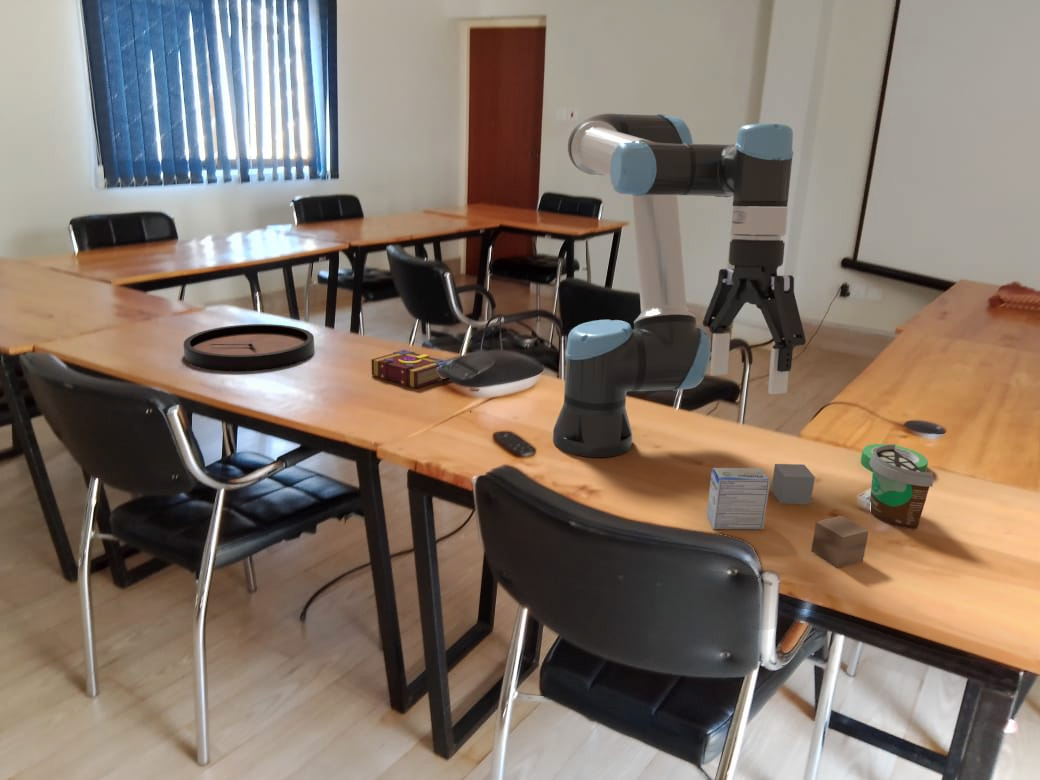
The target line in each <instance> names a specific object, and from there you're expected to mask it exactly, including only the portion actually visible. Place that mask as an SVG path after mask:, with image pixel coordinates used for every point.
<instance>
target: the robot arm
mask: <svg viewBox="0 0 1040 780" xmlns="http://www.w3.org/2000/svg"><path fill="white" fill-rule="evenodd" d="M737 132H738V133H737V135H736V136H737V138H736V141H735V144H718V143H717V144H715V143H714V144H711V143H709V144H708V143H707V144H706V143H693V138H692V134H691V133H692V132H691V131H690V128H689V126H688V125H687V123H686V122H685V121H684V120H683V119H681V118H680V117H678V116H675V115H674V116H672V115H665V114H660V113H659V114H626V113H602V114H598V115H597V114H596V115H593V116H591V117H588V118H586V119H584V120H583V121H581V122H579V123H578V124H577V125H576V126H575V127H574V128H573V130H572V131H571V132H570V135H569V138H568V141H567V153H568V157H569V159H570V161H571V163H572V164H573V165H574V167H575V168H576V169H578V170H580V171H581V172H582V173H585V174H588V175H591V176H605V177H607V178H609V179H610V182H611V185H612V187H613V189H614V191H615V192H616V193H617V194H620V195H631V196H632V205H633V206H632V207H633V221H634V232H635V233H634V234H635V236H634V237H635V248H636V250H635V251H636V261H637V273H638V274H637V275H638V276H637V277H638V287H639V300H640V302H639V303H640V314H639V315H638V316H637V318H636V319H635V320H634V321H633V325H634V326H633V328H632V327H631V324H630V323H628V322H627V321H625V320H624V321H623V320H619V319H614V320H611V319H599V320H597V319H596V320H591V321H587V322H583V323H580V324H578V325H577V326H575V327H573V328H572V329H571V330H569V331H570V332H569V333H568V336H567V341H566V342H567V343H566V349H565V352H564V353H565V373H564V377H565V378H564V396H563V404H562V406H561V410H560V412H559V414H558V417H557V419H556V422H555V425H554V427H553V431H552V432H553V436H552V441H553V442H552V443H553V445H555V446H556V448H558V449H559V450H561V451H563V452H565V453H568V454H572V455H575V456H580V457H587V458H609V457H616V456H619V455H622V454H625V453H627V452H628V451H630V450H631V448H632V445H633V444H632V443H633V442H632V441H633V432H632V428H631V423H630V419H629V416H628V413H627V408H626V402H627V401H626V399H627V393H628V392H646V391H672V392H676V391H679V390H689V389H694V388H696V387H697V386H699V385H700V383H701V382H702V381H703V380H704V377H705V376H706V374H707V371H708V368H709V364H710V370H709V372H710V373H709V376H713V377H715V376H727V375H728V374H729V373H728V371H729V370H728V369H729V357H730V345H731V344H730V342H731V333H730V331H731V330H730V326H731V324H732V323H733V322H734V320H735V318H737V315H738V314H739V313H740V311H741V309H742V308H743V307H744V305H745V304H746V303H748V304H750V305H755V306H756V308H757V309H759V310H760V311H761V314H762V316H763V318H764V320H765V323H766V325H767V328H768V330H769V332H770V335H771V336H772V339H773V341H774V345H773V346H772V347H771V349H770V350H771V351H770V361H769V362H770V363H769V373H768V374H769V376H768V388H767V394H769V395H781V394H787V393H788V384H789V383H788V382H789V372H790V371H791V370H792V361H793V352H794V349H795V347H799V346H804V345H806V342H807V340H806V335H805V332H804V331H805V330H804V328H803V327H804V326H803V323H802V320H801V315H800V311H799V307H798V303H797V299H796V294H795V277H794V276H793V275H791V274H790V275H789V274H788V275H778V268H780V267H781V266H782V265H783V263H784V258H785V257H784V255H785V246H786V244H785V242H784V240H781V239H782V237H784V236H785V235H786V234H787V225H788V224H787V222H788V209H789V208H788V203H789V194H790V184H791V176H792V175H791V173H792V164H793V156H794V151H793V138H794V137H793V136H794V134H793V133H794V132H793V129H792V128H791V126H789V125H787V124H783V123H751V124H744V125H742V126H741V127H740V128H739V129H738V131H737ZM678 196H694V197H695V196H699V197H703V196H704V197H710V196H711V197H717V198H720V197H721V198H731V197H733V199H732V214H731V215H732V217H731V226H730V227H731V230H730V233H731V235H732V236H735V237H734V239H731V241H729V254H728V263H729V264H730V265H731V266H732V267H733V266H734V268H721V269H719V271H718V277H717V284H716V286H715V288H714V292H713V293H712V297H711V299H710V301H709V303H708V306H707V309H706V312H705V315H704V318H703V321H702V324H703V327H705V328H708V329H709V332H710V333H711V336H709V335H708V332H707V330H706V329H705V328H702V327H699V326H698V327H697V319H696V315H695V314H693V312H690V310H689V309H688V308H687V298H686V285H685V275H684V274H685V272H684V261H683V251H682V249H683V248H682V247H683V246H682V236H681V225H680V215H679V214H680V212H679V203H678V201H679V200H678ZM710 337H711V339H710Z"/></svg>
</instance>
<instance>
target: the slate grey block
mask: <svg viewBox="0 0 1040 780" xmlns="http://www.w3.org/2000/svg"><path fill="white" fill-rule="evenodd" d="M773 467H774V469H773V475H772V483H771V488H770V489H771V492H772V493H773V495H774V496H775V498H776V500H779V501H780V502H779V501H778V502H779V504H780V503H789V504H788V505H791V504H792V505H811V503H812V498H813V497H812V496H813V491H814V487H815V479H816V476H815V475H814V474H813V473H812V471H811V470H810V469H809V468H808V467H807V466H806V465H805V464H797V463H795V464H793V463H792V464H791V463H790V464H789V463H788V464H787V463H774V466H773Z"/></svg>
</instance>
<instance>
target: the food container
mask: <svg viewBox="0 0 1040 780" xmlns="http://www.w3.org/2000/svg"><path fill="white" fill-rule="evenodd" d="M895 445H896V446H897V444H893V443H891V444H890V445H883V446H880V447H878V448H877V449H876V451H875V452H874V453H873V455H872V457H871V459H870V462H869V464H870V466H871V468H872V469H873V472H872V475H871V487H870V488H871V489H870V497H869V503H870V502H871V513H870V514H871V515H872V516H873V517H874V518H876V519H877V520H879V521H881V522H883V523H885V524H888V525H891V526H895V527H897V528H902V529H903V528H904V529H910V530H911V529H913V530H914V529H915V530H917V529H918V527H919V524H920V521H921V517H922V514H923V512H924V511H923V510H924V507H925V503H926V500H927V496H928V493H929V490H930V488H933V486H934V485H933V484H934V477H933V476H934V473H933V472H927V471H926V472H922V471H921V470H920V469H919V468H918V467H917V466H916V465H915V464H914V463H913V462H912V461H911V460H909V459H907V458H905V457H903V456H902V455H900V454H899V453H898V452H896V451H895Z"/></svg>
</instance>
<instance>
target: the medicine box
mask: <svg viewBox="0 0 1040 780" xmlns="http://www.w3.org/2000/svg"><path fill="white" fill-rule="evenodd" d="M770 485H771V480H770V479H769V477H768V476H767V474H766V473H765V472H764V470H762V468H759V467H758V468H757V467H754V468H753V467H747V468H746V467H712V468H711V475H710V483H709V492H708V500H707V501H708V502H707V511H706V516H707V520H708V522H709V523H710V526H711V528H712V529H713V530H764V525H765V520H766V519H765V517H766V511H767V505H768V499H769V491H770Z"/></svg>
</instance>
